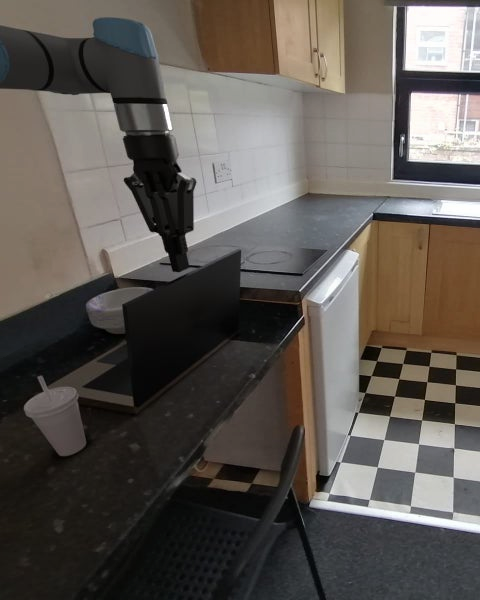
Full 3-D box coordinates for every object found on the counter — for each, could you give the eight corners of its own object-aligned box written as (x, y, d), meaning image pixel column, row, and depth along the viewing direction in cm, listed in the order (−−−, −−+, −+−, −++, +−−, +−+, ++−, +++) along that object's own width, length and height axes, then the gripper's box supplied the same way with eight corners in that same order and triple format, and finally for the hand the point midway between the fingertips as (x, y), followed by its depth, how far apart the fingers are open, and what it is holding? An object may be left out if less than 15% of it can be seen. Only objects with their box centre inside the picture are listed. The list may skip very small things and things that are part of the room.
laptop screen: (121, 304, 62) (126, 306, 62) (237, 248, 88) (241, 249, 88) (133, 406, 71) (137, 408, 71) (235, 328, 98) (238, 329, 98)
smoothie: (47, 469, 61) (9, 394, 55) (46, 445, 65) (11, 373, 59) (98, 449, 64) (68, 376, 59) (94, 427, 69) (66, 358, 63)
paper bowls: (176, 321, 105) (168, 293, 102) (112, 346, 94) (101, 316, 90) (146, 308, 113) (139, 281, 110) (84, 329, 101) (73, 300, 98)
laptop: (45, 397, 77) (41, 389, 76) (164, 325, 103) (162, 319, 102) (136, 414, 72) (133, 405, 71) (236, 334, 98) (235, 327, 98)
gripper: (198, 133, 68) (224, 265, 77) (134, 132, 70) (167, 260, 80) (164, 134, 61) (197, 279, 71) (95, 134, 64) (136, 273, 73)
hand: (181, 269), depth 75 cm, fingers closed
